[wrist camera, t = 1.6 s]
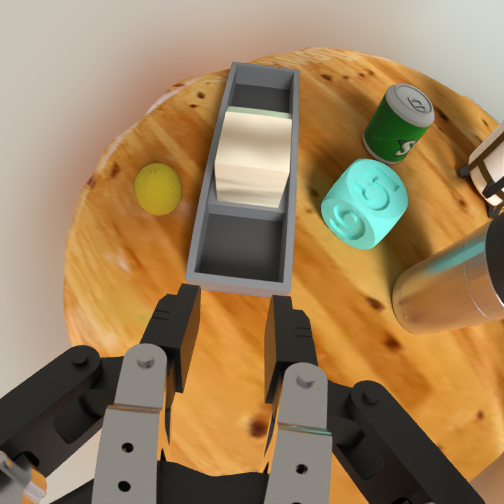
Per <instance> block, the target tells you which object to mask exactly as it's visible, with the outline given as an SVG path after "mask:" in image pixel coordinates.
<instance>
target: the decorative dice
mask: <svg viewBox="0 0 504 504" xmlns="http://www.w3.org/2000/svg"><path fill="white" fill-rule="evenodd" d="M408 204H409V202H408V195H407V191H406V189H405V186H404V184H403V182H402V181H401V179H400V177H399V176H398V175H397V174H396V173H395V172H394V171H393V170H392V169H391V168H390V167H388V166H387V165H385V164H383V163H381V162H378V161H376V160H371V159H357V160H356V161H354V162H353V163H352V164H351V165H350V166H349V167H348V168H347V170H346V171H345V172H344V173H343V174H342V175H341V176H340V178H339V179H338V180H337V181H336V183H335V184H334V185H333V186H332V188H331V189H330V190H329V192H328V193H327V195H326V196H325V197H324V199H323V201H322V202H321V212H322V216H323V219H324V221H325V223H326V224H327V226H328V227H329V229H330V230H331V231H332V232H333V233H334V234H335V235H336V236H337V237H338V238H339V239H340V240H342V241H343V242H345V243H346V244H348V245H350V246H352V247H354V248H358V249H371V248H373V247H374V246H375V245H376V244H378V243H379V242H380V241H381V240H382V239H383V238H384V237H385V235H386V234H387V233H388V232H389V231H390V230H391V229H392V228H393V226H394V225H395V224H396V223H397V221H398V220H399V219H400V217H401V216H402V215H403V213H404V212H405V210H406V209H407V207H408Z"/></svg>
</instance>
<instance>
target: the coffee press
mask: <svg viewBox="0 0 504 504" xmlns="http://www.w3.org/2000/svg"><path fill="white" fill-rule="evenodd" d="M458 174H459V177H460V178H468V177H470V178H472V180H473V183H474V185H475V186H476V188H477V190H478V191H479V193H480V194H481V195H482V196H483V198H484V199H485V200H486V201H487V202H489V203H490V207H489V211H488V217H489V218H491V219H494V218H495V217H497V216H498V214H499V212H500V210H501V209H502V208H504V120H503V121H502V122H501V124H500V125H499V126H498V127H497V128H496V129H495V130H494V131H493V132H492V133H491V134H490V135H489V136H488V137H487V138H486V139H485V140H484V141H483V142H482V143H481V144H480V145H479V146H478V147H477V148H476V149H475V150H474V151H473V153H472V154H471V155H470V157H469V165H467V166H464V167H461V168H459V169H458ZM494 206H495V207H496V208H495V210H494ZM493 211H494V213H493Z"/></svg>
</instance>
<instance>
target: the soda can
mask: <svg viewBox="0 0 504 504" xmlns="http://www.w3.org/2000/svg"><path fill="white" fill-rule="evenodd" d="M434 116H435V115H434V111H433V106H432V103H431V102H430V100H429V99H428V98H427V96H426V95H425V94H424V93H422V92H421V91H420V90H418V89H417V88H415V87H413V86H411V85H408V84H398V85H392V86H390V87H389V88H388V89H387V91H386V93H385V95H384V97H383V99H382V101H381V102H380V104H379V106H378V108H377V110H376V111H375V113H374V115H373V117H372V119H371V120H370V122H369V124H368V126H367V128H366V129H365V131H364V134H363V142H364V144H365V147H366V148H367V151H368V152H369V153H370V155H371V156H372V157H374V158H375V159H376V160H378V161H380V162H382V163H386V164H398V163H400V162H401V161H402V160H403V159H404V158H405V157H406V155H407V154H408V153H409V152H410V150H411V149H412V148H413V147H414V145H415V144H416V143H417V142H418V140H419V139H420V138H421V137H422V135H423V134H424V133H425V131H426V130H427V129H428V128H429V126H430V125H431V124H432V122H433V121H434Z"/></svg>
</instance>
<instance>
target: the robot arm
mask: <svg viewBox="0 0 504 504" xmlns="http://www.w3.org/2000/svg"><path fill="white" fill-rule="evenodd" d="M200 299H201V286H199V285H191V284H184V283H182V284H181V287H180V289H179V291H178V294H177V295H172V294H167V295H166V296H164V297H163V298H162V299H161V300H159V302H158V304H157V306H156V308H155V311H154V313H153V315H152V318H151V319H150V321H149V323H148V326H147V328H146V330H145V332H144V334H143V337H142V339H141V341H140V344H138V345H135V346H133V347H131V348H130V349H129V350H128V351H127V352H126V353H125V356H121V357H106V358H100V356H99V353H98V352H97V351H96V350H95V349H94V348H92V347H90V346H85V345H79V346H75V347H72V348H70V349H68V350H67V351H65V352H64V353H63V354H61V355H60V356H59V357H57V358H56V359H54V360H53V361H51V362H50V363H49V364H47V365H46V366H44V367H43V368H42V369H40V370H39V371H37V372H36V373H35V374H33V375H32V376H31V377H29V378H28V379H26V380H25V381H24V382H22V383H21V384H20V385H18V386H17V387H16V388H14V389H13V390H11V391H10V392H9V393H8V394H6V395H5V396H3V397H2V398H1V399H0V504H39V502H40V500H41V499H42V498H43V497H45V495H46V488H47V484H46V479H45V478H46V477H47V476H49V475H50V474H51V473H52V472H53V471H54V470H55V469H57V468H58V467H59V466H60V465H61V464H62V463H63V462H65V461H66V460H67V459H68V458H69V457H70V456H71V455H72V454H73V453H75V452H76V451H77V450H78V449H79V448H80V447H81V446H82V445H83V444H84V443H86V442H87V441H88V440H89V439H90V438H91V437H92V436H93V435H94V434H96V433H97V432H98V431H99V430H100V429H101V428H102V432H101V438H100V443H99V449H98V456H97V463H96V470H95V477H94V479H92V480H90V481H89V482H87V483H85V484H84V485H82V486H80V487H79V488H77V489H75V490H74V491H72V492H70V493H68V494H66V495H65V496H63V497H61V498H59V499H57V500H55V501H54V502H52V503H50V504H328V503H329V491H330V477H331V459H332V452H333V454H334V455H335V456H336V458H337V459H338V461H339V462H340V464H341V465H342V466H343V468H344V469H345V471H346V472H347V473H348V475H349V476H350V478H351V479H352V480H353V482H354V483H355V485H356V486H357V487H358V489H359V490H360V492H361V493H362V494H363V496H364V497H365V498H366V500H367V501H368V502H369V504H485V502H484V500H483V499H482V498H481V497H480V496H479V494H478V493H477V492H476V491H475V490H474V489H473V487H472V486H471V485H470V484H469V483H468V482H467V480H466V479H465V478H464V477H463V476H462V475H461V474H460V472H459V471H458V470H457V469H456V468H455V467H454V466H453V464H452V463H451V462H450V461H449V460H448V459H447V458H446V456H445V455H444V454H443V453H442V452H441V451H440V450H439V448H438V447H437V446H436V445H435V444H434V443H433V442H432V440H431V439H430V438H429V437H428V436H427V435H426V434H425V432H424V431H423V430H422V429H421V428H420V427H419V426H418V425H417V423H416V422H415V421H414V420H413V419H412V418H411V417H410V415H409V414H408V413H407V412H406V411H405V410H404V409H403V408H402V406H401V405H400V404H399V403H398V402H397V401H396V400H395V399H394V397H393V396H392V395H391V394H390V393H389V392H388V391H387V390H386V389H385V388H384V387H383V386H382V385H381V384H379V383H377V382H374V381H369V380H365V381H360V382H358V383H356V384H355V385H354V386H353V388H351V387H347V386H343V385H340V384H336V383H334V382H332V381H330V380H328V379H327V376H326V374H325V373H324V372H323V370H321V369H320V368H319V367H318V363H317V357H316V352H315V346H314V341H313V338H312V331H311V326H310V320H309V318H308V317H307V315H306V314H305V313H304V312H303V310H295V309H293V307H292V300H291V297H290V296H281V295H272V297H271V301H270V306H269V311H268V317H267V322H266V327H265V338H264V347H265V403H269V404H272V415H271V418H270V422H269V427H268V432H267V437H266V442H265V447H264V452H263V457H262V461H261V465H260V468H259V472H248V473H241V474H234V475H226V476H209V475H206V474H203V473H201V472H198V471H195V470H193V469H190V468H188V467H185V466H183V465H180V464H178V463H174V462H172V455H171V433H172V403H173V399H174V395H175V392H179V393H183V391H184V386H185V382H186V378H187V374H188V370H189V366H190V361H191V357H192V353H193V349H194V345H195V341H196V337H197V333H198V329H199V322H200ZM392 304H393V309H394V313H395V315H396V317H397V319H398V321H399V322H400V324H401V325H402V326H403V327H404V328H405V329H406V330H407V331H409V332H411V333H413V334H416V335H424V334H430V333H436V332H443V331H449V330H454V329H459V328H465V327H470V326H475V325H479V324H484V323H489V322H493V321H498V320H501V319H504V212H503V213H501V214H500V215H498V216H497V217H495V218H494V219H492V220H491V221H489V222H488V223H486V224H485V225H483V226H481V227H480V228H478V229H477V230H475V231H473V232H472V233H470V234H469V235H467V236H465V237H464V238H462V239H460V240H458V241H457V242H455V243H453V244H452V245H450V246H448V247H446V248H445V249H443V250H441V251H439V252H438V253H436V254H434V255H432V256H430V257H429V258H427V259H425V260H423V261H421V262H419V263H417V264H416V265H414V266H412V267H410V268H408V269H407V270H405V271H404V272H402V273H401V275H400V276H399V277H398V278H397V280H396V282H395V285H394V288H393V294H392Z"/></svg>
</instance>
